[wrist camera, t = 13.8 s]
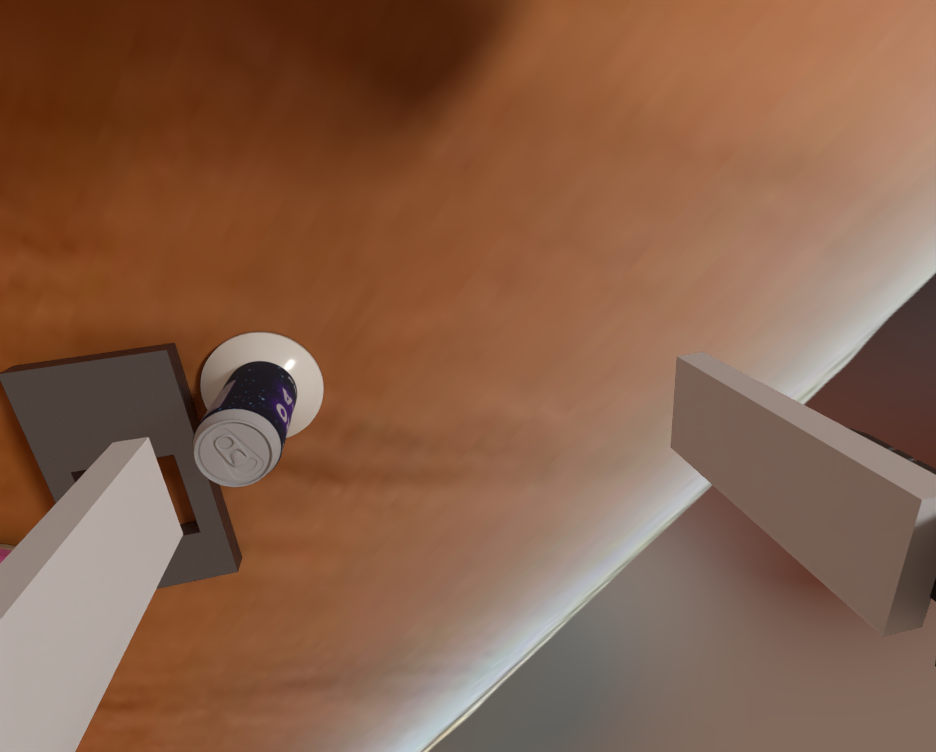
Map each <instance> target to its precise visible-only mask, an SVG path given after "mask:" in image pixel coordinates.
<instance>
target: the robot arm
mask: <svg viewBox="0 0 936 752" xmlns="http://www.w3.org/2000/svg"><path fill="white" fill-rule="evenodd" d="M671 448H672V449H673V450H674V451H675V452H677V453H678V454H679V455H680V456H681V457H682V458H683V459H684V460H686V461H687V462H688V463H689V464H690V465H691V466H692V467H693V468H694V469H696V470H697V471H698V472H699V473H700V474H701V475H702V476H703V477H705V478H706V479H707V480H708V481H709V482H710V483H711V484H712V485H713V486H715V487H716V488H717V489H718V490H719V491H720V492H721V493H722V494H724V495H725V496H726V497H727V498H728V499H729V500H730V501H732V502H733V503H734V504H735V505H736V506H737V507H738V508H739V509H740V510H742V511H743V512H744V513H745V514H746V515H747V516H748V517H749V518H750V519H752V520H753V521H754V522H755V523H756V524H757V525H758V526H759V527H761V528H762V529H763V530H764V531H765V532H766V533H767V534H768V535H769V536H771V537H772V538H773V539H774V540H775V541H776V542H777V543H778V544H780V545H781V546H782V547H783V548H784V549H785V550H786V551H787V552H789V553H790V554H791V555H792V556H793V557H794V558H795V559H796V560H797V561H799V562H800V563H801V564H802V565H803V566H804V567H805V568H806V569H807V570H809V571H810V572H811V573H812V574H813V575H814V576H815V577H816V578H818V579H819V580H820V581H821V582H822V583H823V584H824V585H825V586H827V587H828V588H829V589H830V590H831V591H832V592H833V593H835V594H836V595H837V596H838V597H839V598H840V599H841V600H842V601H843V602H844V603H846V604H847V605H848V606H849V607H850V608H851V609H852V610H853V611H854V612H856V613H857V614H858V615H859V616H860V617H861V618H862V619H863V620H865V621H866V622H867V623H868V624H869V625H870V626H871V627H873V628H874V629H875V630H876V631H877V632H878V633H879V634H880V635H881V636H882V637H884V636H888V635H892V634H896V633H900V632H904V631H908V630H912V629H916V628H920V627H922V625H923V622H924V619H925V616H926V613H927V610H928V607H929V604H930V600H931V598H932V599H933V600H934V601H936V469H935V468H932V467H931V466H929V465H927V464H925V463H923V462H921V461H919V460H917V461H914V459H913V457H911V456H910V455H907V454H906V453H904V452H902V451H900V450H894V449H893V447H892V446H890V445H888V444H886V443H884V442H883V441H880V440H879V439H877V438H875V437H873V436H871V435H869V434H866V433H863V432H860V431H857V430H853V429H851V428H847V427H844V426H842V425H840V424H838V423H837V422H835V421H833V420H831V419H829V418H827V417H825V416H823V415H821V414H819V413H818V412H816V411H814V410H812V409H810V408H808V407H806V406H804V405H803V404H801V403H799V402H797V401H795V400H793V399H791V398H789V397H787V396H786V395H784V394H782V393H780V392H778V391H776V390H774V389H772V388H770V387H768V386H767V385H765V384H763V383H761V382H759V381H757V380H755V379H753V378H751V377H750V376H748V375H746V374H744V373H742V372H740V371H738V370H736V369H734V368H732V367H731V366H729V365H727V364H725V363H723V362H721V361H719V360H717V359H715V358H714V357H712V356H710V355H708V354H706V353H704V352H701V353H695V354H688V355H682V356H677V362H676V377H675V391H674V406H673V420H672V435H671ZM182 536H183V532H182V529H181V527H180V524H179V521H178V518H177V515H176V513H175V510H174V507H173V504H172V501H171V498H170V496H169V493H168V490H167V487H166V484H165V482H164V479H163V476H162V473H161V470H160V468H159V465H158V462H157V459H156V456H155V454H154V451H153V448H152V445H151V442H150V440H149V437H145V438H139V439H132V440H125V441H119V442H113V443H112V444H111V445H110V446H109V447H108V448H107V449H106V450H105V451H104V452H103V454H102V455H101V456H100V457H99V458H98V459H97V460H96V461H95V462H94V463H93V464H92V465H91V466H90V468H89V469H88V470H87V471H86V472H85V473H84V474H83V475H82V476H81V477H80V478H79V479H78V480H77V482H76V483H75V484H74V485H73V486H72V487H71V488H70V489H69V490H68V491H67V492H66V493H65V494H64V496H63V497H62V498H61V499H60V500H59V501H58V502H57V503H56V504H55V505H54V506H53V507H52V508H51V510H50V511H49V512H48V513H47V514H46V515H45V516H44V517H43V518H42V519H41V520H40V521H39V523H38V524H37V525H36V526H35V527H34V528H33V529H32V530H31V531H30V532H29V533H28V534H27V535H26V537H25V538H24V539H23V540H22V541H21V542H20V543H19V544H18V545H17V546H16V547H15V548H14V549H13V551H12V552H11V553H10V554H9V555H8V556H7V557H6V558H5V559H4V560H3V561H2V562H1V563H0V752H75V751H76V749H77V747H78V745H79V743H80V741H81V739H82V737H83V735H84V733H85V731H86V729H87V727H88V725H89V723H90V721H91V719H92V717H93V715H94V713H95V711H96V709H97V707H98V705H99V703H100V701H101V699H102V697H103V694H104V692H105V690H106V688H107V686H108V684H109V682H110V680H111V678H112V676H113V674H114V672H115V670H116V668H117V666H118V664H119V662H120V660H121V658H122V656H123V654H124V652H125V650H126V648H127V646H128V644H129V642H130V640H131V638H132V636H133V634H134V632H135V630H136V628H137V626H138V624H139V622H140V620H141V618H142V616H143V614H144V612H145V610H146V608H147V606H148V604H149V602H150V600H151V598H152V596H153V594H154V592H155V590H156V588H157V586H158V584H159V582H160V580H161V578H162V576H163V574H164V572H165V570H166V568H167V566H168V564H169V562H170V560H171V558H172V556H173V554H174V552H175V550H176V548H177V546H178V544H179V542H180V540H181V538H182ZM935 666H936V664H935Z"/></svg>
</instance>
